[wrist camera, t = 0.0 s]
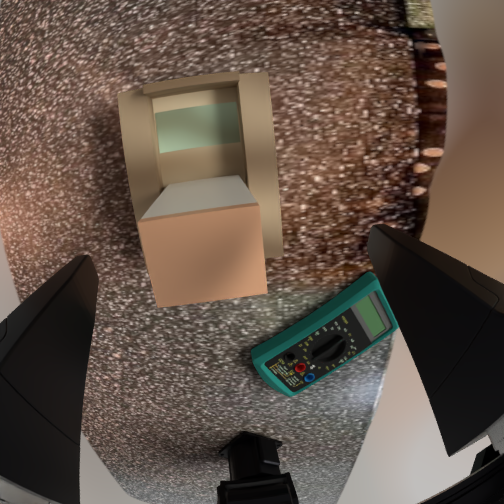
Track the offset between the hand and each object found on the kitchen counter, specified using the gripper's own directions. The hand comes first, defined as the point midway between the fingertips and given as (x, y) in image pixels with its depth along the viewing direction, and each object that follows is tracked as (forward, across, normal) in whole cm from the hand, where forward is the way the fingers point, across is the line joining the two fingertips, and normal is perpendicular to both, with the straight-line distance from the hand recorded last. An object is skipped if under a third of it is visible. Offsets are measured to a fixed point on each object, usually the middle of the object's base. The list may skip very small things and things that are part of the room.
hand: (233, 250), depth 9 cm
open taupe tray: (+15, +1, +3) cm, 16 cm away
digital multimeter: (+12, -9, +20) cm, 25 cm away
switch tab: (+13, +1, +5) cm, 14 cm away
